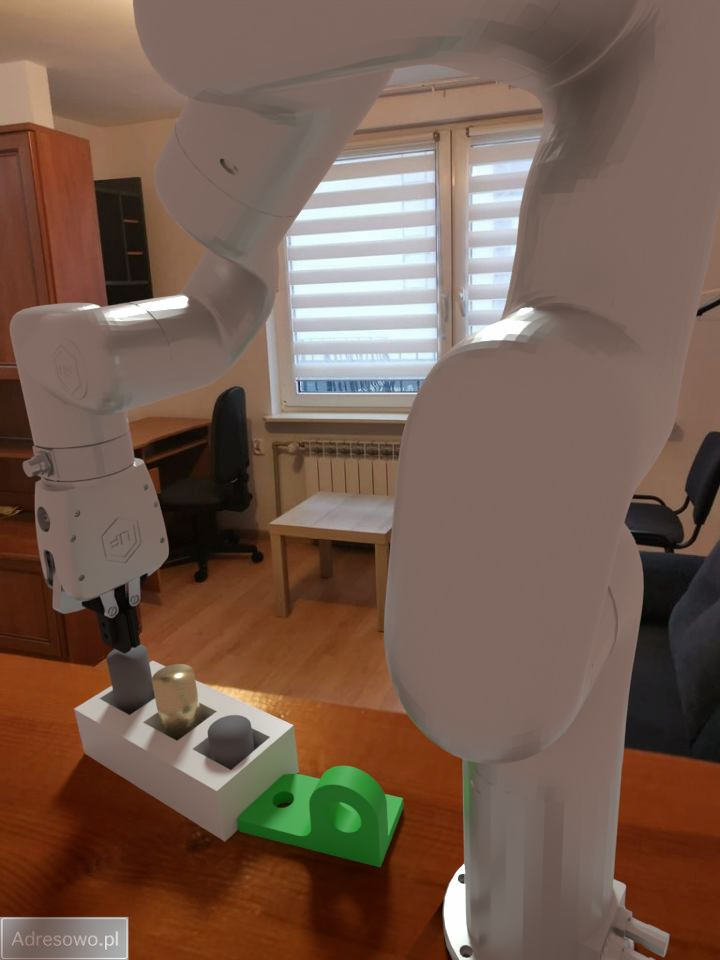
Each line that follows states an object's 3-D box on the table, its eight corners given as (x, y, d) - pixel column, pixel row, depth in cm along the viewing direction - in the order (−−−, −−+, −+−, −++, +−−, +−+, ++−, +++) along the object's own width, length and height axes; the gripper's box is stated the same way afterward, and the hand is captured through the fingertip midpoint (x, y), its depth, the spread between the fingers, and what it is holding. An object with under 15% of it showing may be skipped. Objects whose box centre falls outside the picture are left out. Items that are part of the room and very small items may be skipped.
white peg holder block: (299, 780, 64) (293, 725, 62) (226, 850, 57) (216, 791, 55) (161, 709, 75) (152, 660, 73) (86, 761, 68) (74, 708, 66)
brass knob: (211, 728, 65) (202, 671, 63) (180, 751, 62) (170, 693, 60) (185, 714, 67) (175, 659, 65) (154, 736, 64) (143, 680, 62)
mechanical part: (403, 817, 59) (401, 738, 56) (381, 877, 54) (377, 793, 51) (273, 785, 63) (264, 710, 60) (240, 838, 58) (229, 759, 55)
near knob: (267, 781, 62) (260, 724, 60) (238, 808, 59) (228, 749, 57) (238, 765, 64) (229, 709, 62) (208, 791, 61) (198, 733, 59)
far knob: (164, 704, 68) (154, 650, 66) (133, 725, 66) (122, 670, 64) (141, 692, 70) (130, 639, 68) (110, 712, 68) (98, 658, 66)
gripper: (27, 492, 52) (74, 702, 58) (185, 438, 63) (211, 619, 69) (-25, 476, 56) (24, 673, 62) (132, 428, 67) (161, 600, 74)
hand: (123, 644), depth 66 cm, fingers closed
